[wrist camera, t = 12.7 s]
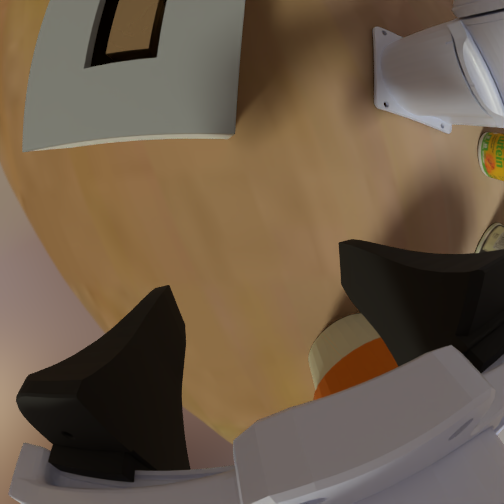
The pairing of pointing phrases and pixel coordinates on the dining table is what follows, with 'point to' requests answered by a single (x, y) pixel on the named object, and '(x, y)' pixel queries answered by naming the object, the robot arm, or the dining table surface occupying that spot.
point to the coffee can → (492, 239)
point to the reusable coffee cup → (348, 356)
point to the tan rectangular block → (135, 30)
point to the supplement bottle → (492, 155)
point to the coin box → (134, 78)
